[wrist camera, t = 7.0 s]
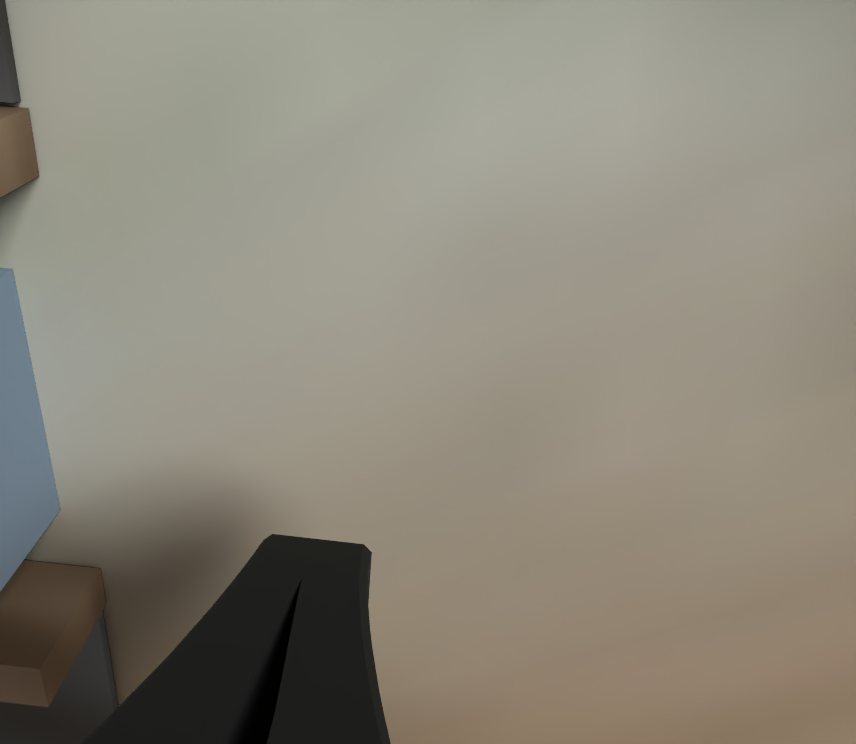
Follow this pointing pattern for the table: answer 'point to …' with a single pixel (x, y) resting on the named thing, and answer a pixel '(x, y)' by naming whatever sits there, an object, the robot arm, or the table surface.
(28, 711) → the bay box
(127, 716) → the robot arm
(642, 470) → the table surface
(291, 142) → the table surface
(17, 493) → the slate block
